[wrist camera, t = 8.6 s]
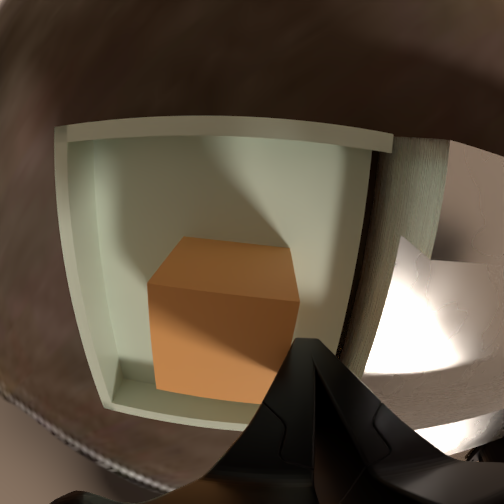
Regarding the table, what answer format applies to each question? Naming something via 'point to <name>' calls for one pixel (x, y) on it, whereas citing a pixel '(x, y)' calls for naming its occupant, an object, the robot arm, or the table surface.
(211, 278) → the peach toy brick
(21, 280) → the table surface
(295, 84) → the table surface
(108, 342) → the tray
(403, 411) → the slot rail
